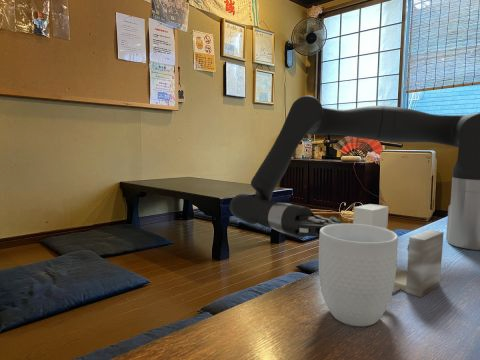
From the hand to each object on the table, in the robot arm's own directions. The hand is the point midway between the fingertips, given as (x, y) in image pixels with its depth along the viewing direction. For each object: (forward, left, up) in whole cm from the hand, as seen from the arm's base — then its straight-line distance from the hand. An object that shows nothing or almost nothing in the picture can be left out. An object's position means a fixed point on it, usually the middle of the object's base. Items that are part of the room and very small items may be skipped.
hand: (351, 233), depth 72 cm
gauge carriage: (+4, +1, -6) cm, 7 cm away
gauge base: (+8, +5, -7) cm, 12 cm away
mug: (+20, -5, -7) cm, 22 cm away
